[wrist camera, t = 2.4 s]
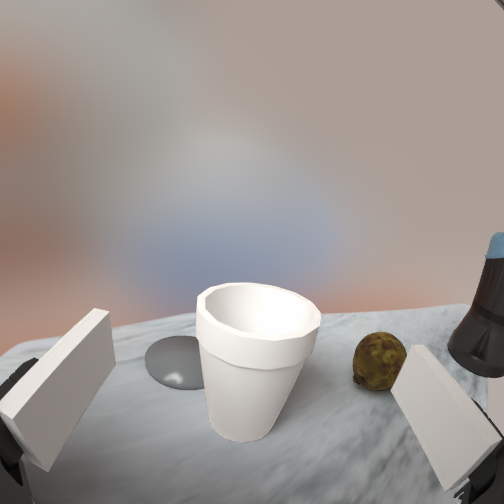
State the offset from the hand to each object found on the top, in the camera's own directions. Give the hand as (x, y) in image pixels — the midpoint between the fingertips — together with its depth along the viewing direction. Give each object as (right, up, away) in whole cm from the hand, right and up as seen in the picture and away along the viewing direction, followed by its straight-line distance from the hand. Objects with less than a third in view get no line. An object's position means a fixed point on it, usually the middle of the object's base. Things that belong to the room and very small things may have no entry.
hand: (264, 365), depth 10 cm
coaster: (-9, -9, +21) cm, 25 cm away
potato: (+16, -13, +21) cm, 29 cm away
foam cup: (-2, -12, +14) cm, 18 cm away
